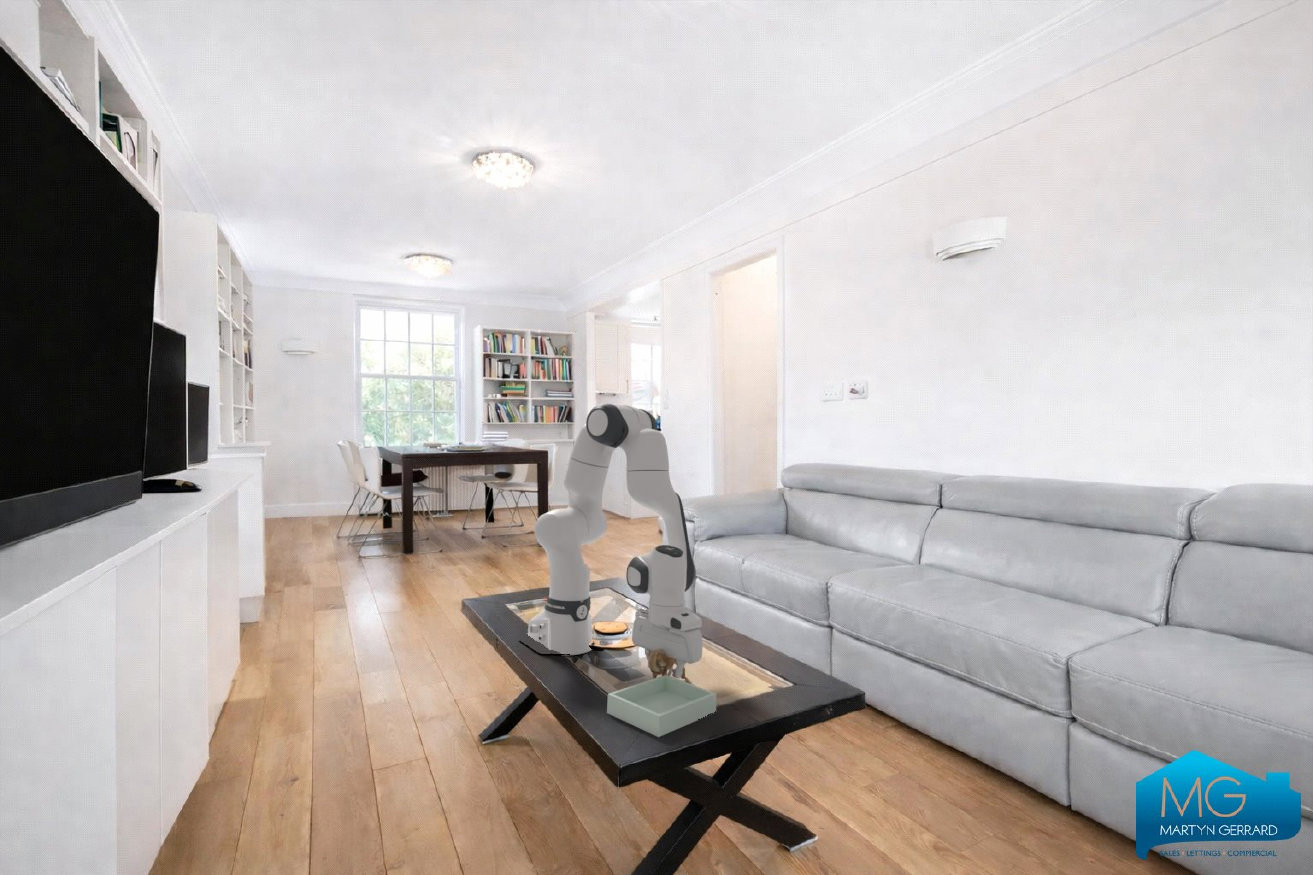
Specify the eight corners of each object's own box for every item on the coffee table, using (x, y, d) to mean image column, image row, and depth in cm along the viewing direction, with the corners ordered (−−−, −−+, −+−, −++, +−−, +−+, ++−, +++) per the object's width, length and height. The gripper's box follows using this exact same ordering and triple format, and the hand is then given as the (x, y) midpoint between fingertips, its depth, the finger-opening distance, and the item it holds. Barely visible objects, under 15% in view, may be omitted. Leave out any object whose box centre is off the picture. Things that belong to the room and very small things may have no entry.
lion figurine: (662, 693, 146) (664, 654, 146) (642, 688, 148) (644, 649, 149) (689, 674, 159) (690, 638, 159) (670, 670, 161) (671, 635, 162)
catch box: (606, 713, 133) (607, 693, 134) (664, 692, 146) (665, 674, 147) (658, 737, 123) (659, 716, 123) (715, 712, 136) (716, 693, 136)
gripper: (627, 607, 157) (625, 663, 157) (689, 625, 143) (687, 687, 143) (645, 604, 162) (643, 658, 162) (707, 621, 148) (705, 680, 148)
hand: (664, 672), depth 152 cm, fingers open, 7 cm apart
